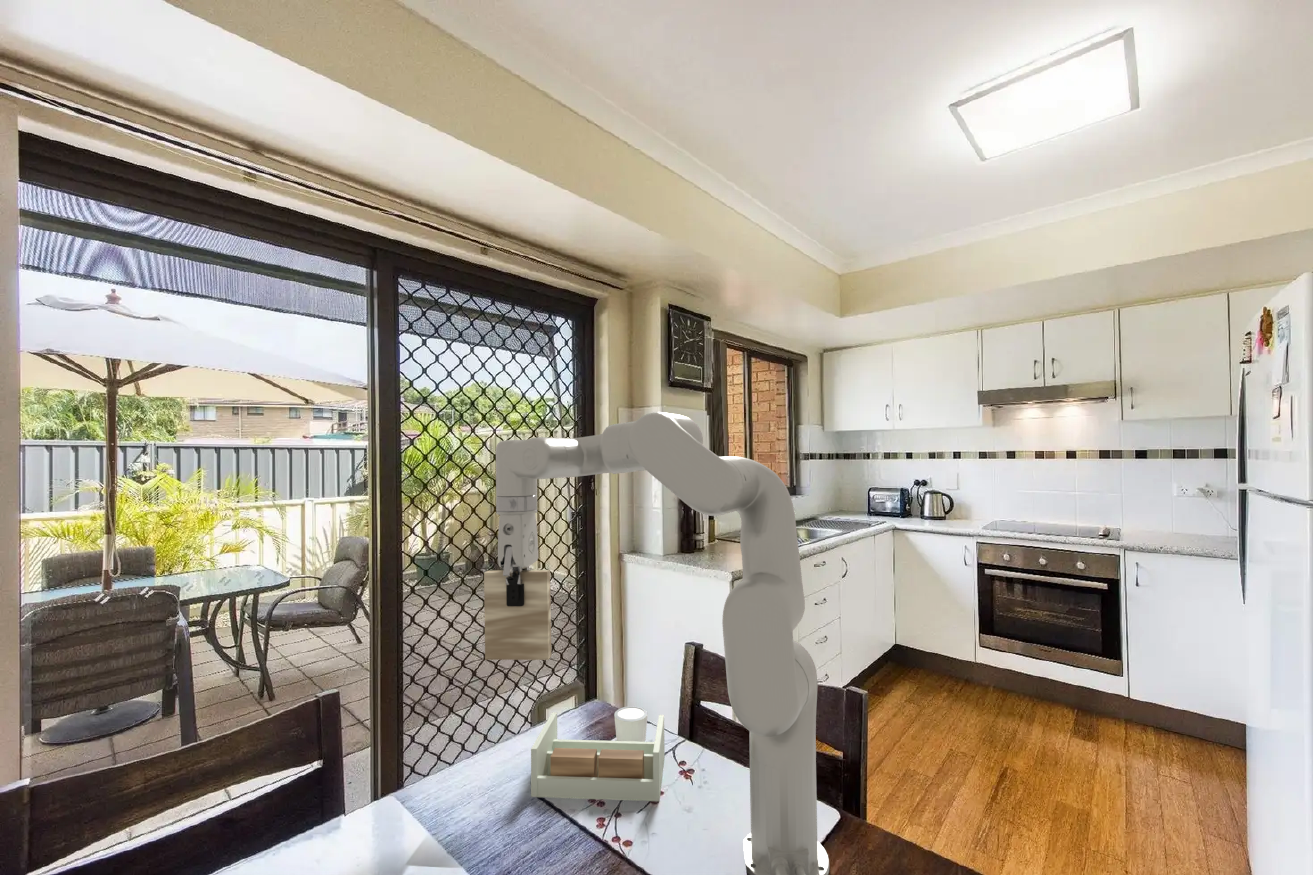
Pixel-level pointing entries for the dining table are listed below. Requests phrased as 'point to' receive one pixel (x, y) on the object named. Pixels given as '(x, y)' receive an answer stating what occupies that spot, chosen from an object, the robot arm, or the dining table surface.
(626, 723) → the white cup
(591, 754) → the offcut
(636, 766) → the offcut
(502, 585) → the birch sheet
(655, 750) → the rack
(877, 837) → the dining table surface
